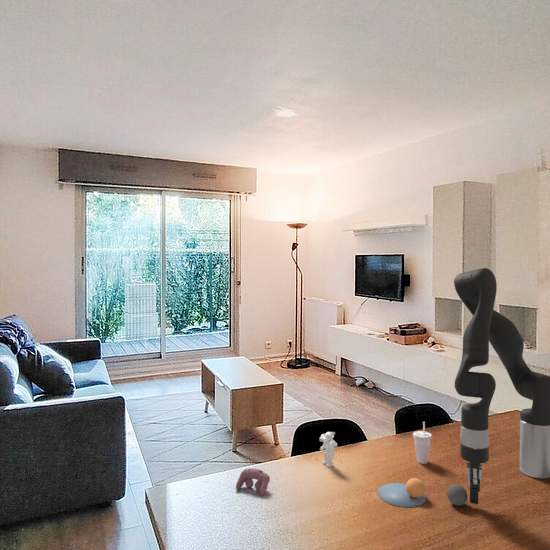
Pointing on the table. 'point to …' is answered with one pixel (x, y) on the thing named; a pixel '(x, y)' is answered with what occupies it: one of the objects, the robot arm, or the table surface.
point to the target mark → (399, 495)
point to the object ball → (415, 488)
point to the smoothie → (422, 445)
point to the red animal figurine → (254, 474)
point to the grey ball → (457, 495)
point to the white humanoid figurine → (328, 448)
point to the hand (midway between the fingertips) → (473, 502)
